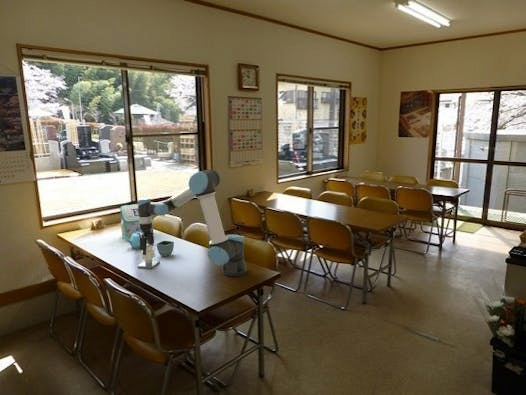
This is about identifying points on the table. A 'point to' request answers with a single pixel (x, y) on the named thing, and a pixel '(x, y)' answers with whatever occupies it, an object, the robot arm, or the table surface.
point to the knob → (149, 252)
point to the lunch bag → (130, 220)
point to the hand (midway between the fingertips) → (148, 257)
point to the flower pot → (165, 248)
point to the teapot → (135, 240)
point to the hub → (148, 264)
